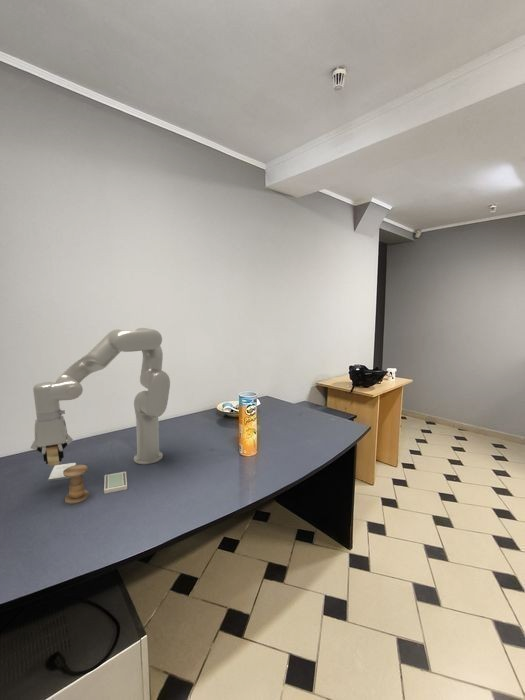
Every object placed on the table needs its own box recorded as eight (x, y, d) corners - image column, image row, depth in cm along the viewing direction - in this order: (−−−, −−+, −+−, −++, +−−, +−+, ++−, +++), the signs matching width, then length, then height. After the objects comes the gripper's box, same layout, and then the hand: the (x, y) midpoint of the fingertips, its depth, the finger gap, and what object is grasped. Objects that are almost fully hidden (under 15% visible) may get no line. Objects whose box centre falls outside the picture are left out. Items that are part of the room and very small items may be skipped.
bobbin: (66, 494, 124) (64, 466, 122) (89, 490, 127) (88, 463, 125) (63, 505, 117) (61, 476, 115) (88, 500, 120) (86, 472, 119)
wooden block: (49, 461, 128) (47, 444, 127) (60, 459, 130) (58, 442, 129) (48, 466, 125) (45, 448, 124) (59, 464, 127) (57, 446, 125)
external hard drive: (48, 483, 132) (54, 468, 144) (71, 479, 135) (76, 465, 147) (47, 479, 132) (54, 465, 144) (71, 475, 135) (76, 462, 147)
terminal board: (104, 478, 135) (104, 474, 135) (126, 474, 139) (125, 471, 138) (104, 493, 125) (104, 489, 124) (127, 489, 128) (127, 485, 128)
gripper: (75, 409, 131) (79, 452, 134) (24, 415, 124) (30, 461, 127) (73, 415, 124) (78, 460, 127) (19, 422, 118) (26, 470, 121)
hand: (54, 460), depth 127 cm, fingers closed on wooden block, 3 cm apart
